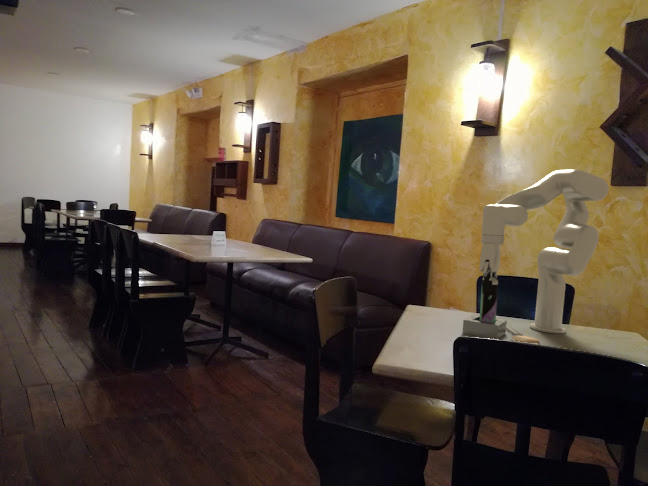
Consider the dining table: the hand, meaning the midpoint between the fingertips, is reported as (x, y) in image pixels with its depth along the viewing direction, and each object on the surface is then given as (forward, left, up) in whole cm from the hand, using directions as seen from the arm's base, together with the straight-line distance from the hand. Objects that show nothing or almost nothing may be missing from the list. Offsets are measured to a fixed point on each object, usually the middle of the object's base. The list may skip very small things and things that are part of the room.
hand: (489, 289), depth 179 cm
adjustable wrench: (-14, +4, -16) cm, 22 cm away
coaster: (+1, +14, -16) cm, 21 cm away
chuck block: (+1, 0, -16) cm, 16 cm away
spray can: (0, 0, -14) cm, 14 cm away
